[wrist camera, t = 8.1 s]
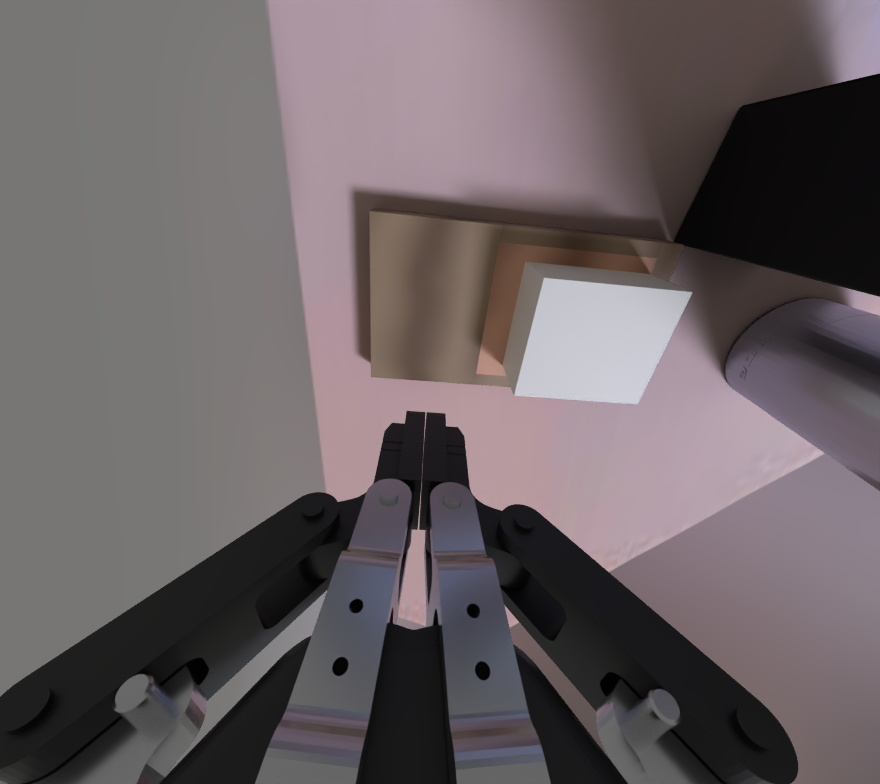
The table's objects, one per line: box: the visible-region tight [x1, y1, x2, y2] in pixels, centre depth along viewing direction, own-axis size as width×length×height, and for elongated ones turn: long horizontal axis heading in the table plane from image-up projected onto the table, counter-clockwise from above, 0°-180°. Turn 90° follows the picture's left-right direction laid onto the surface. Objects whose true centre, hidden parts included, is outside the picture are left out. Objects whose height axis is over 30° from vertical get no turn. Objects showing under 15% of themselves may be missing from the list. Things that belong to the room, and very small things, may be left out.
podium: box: [369, 209, 685, 387], centre depth 26 cm, size 21×12×2 cm, turn 85°
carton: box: [502, 262, 693, 404], centre depth 24 cm, size 9×8×4 cm
